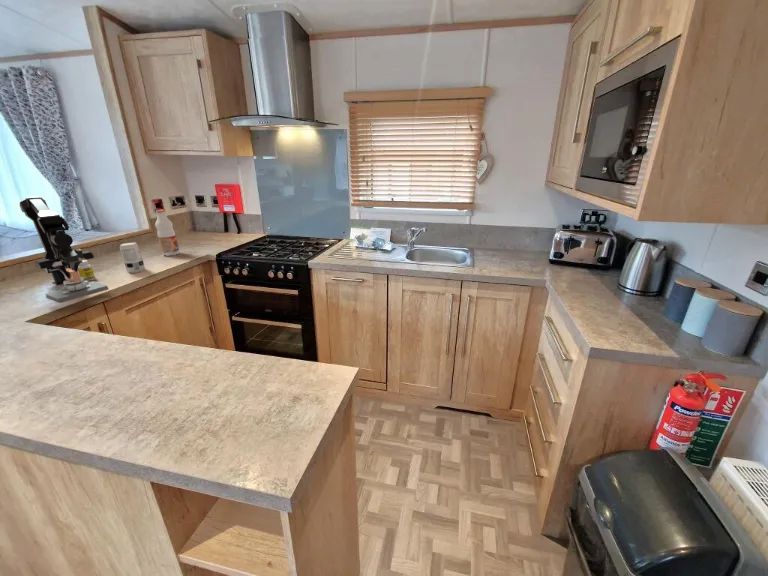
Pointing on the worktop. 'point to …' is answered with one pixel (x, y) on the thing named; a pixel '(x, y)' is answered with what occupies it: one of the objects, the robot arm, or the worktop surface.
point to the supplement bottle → (86, 271)
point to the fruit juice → (166, 234)
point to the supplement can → (132, 257)
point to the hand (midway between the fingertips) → (72, 277)
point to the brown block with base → (74, 281)
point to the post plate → (76, 292)
